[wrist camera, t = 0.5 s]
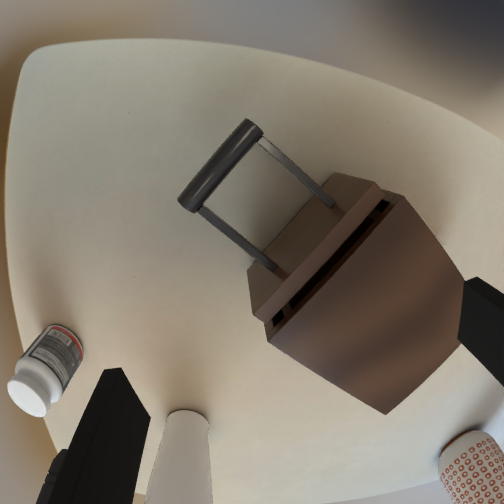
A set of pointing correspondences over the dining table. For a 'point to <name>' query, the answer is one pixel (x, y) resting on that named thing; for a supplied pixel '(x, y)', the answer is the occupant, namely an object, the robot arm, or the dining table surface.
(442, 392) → the dining table surface
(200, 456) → the drinking glass
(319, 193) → the drawer
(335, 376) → the cabinet
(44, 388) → the pill bottle
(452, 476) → the white patterned vase
